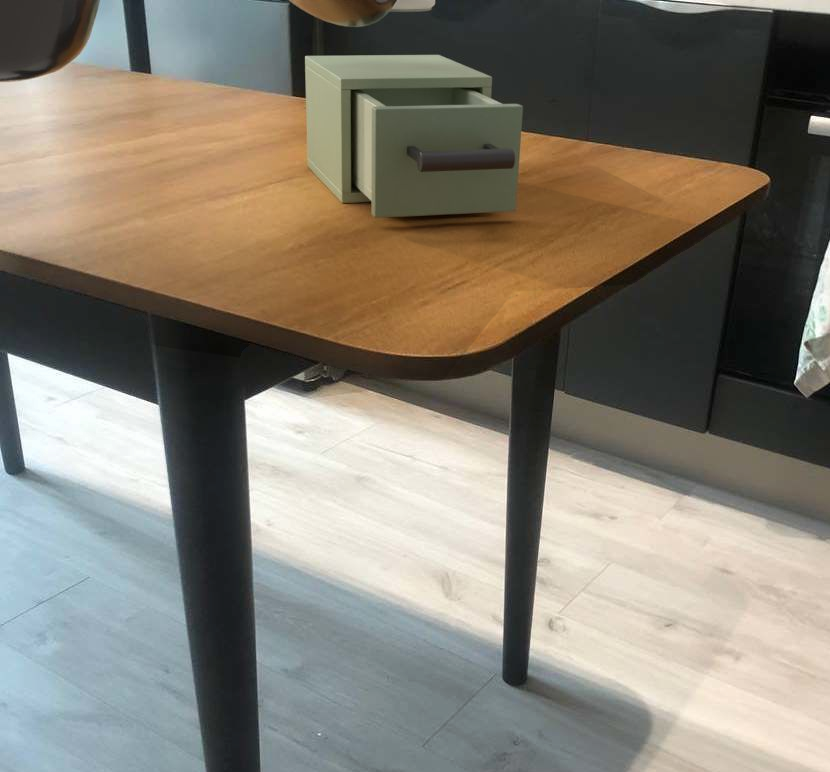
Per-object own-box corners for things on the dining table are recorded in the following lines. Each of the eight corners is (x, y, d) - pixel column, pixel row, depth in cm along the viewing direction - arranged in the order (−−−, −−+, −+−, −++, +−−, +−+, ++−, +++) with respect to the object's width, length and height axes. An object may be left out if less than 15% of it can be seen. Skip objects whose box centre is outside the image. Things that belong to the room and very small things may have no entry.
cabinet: (485, 197, 93) (492, 76, 88) (341, 203, 89) (340, 78, 85) (435, 162, 105) (439, 54, 100) (307, 166, 102) (304, 55, 97)
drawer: (538, 226, 81) (547, 116, 77) (391, 234, 78) (392, 120, 74) (462, 174, 96) (466, 80, 92) (336, 179, 93) (335, 82, 89)
